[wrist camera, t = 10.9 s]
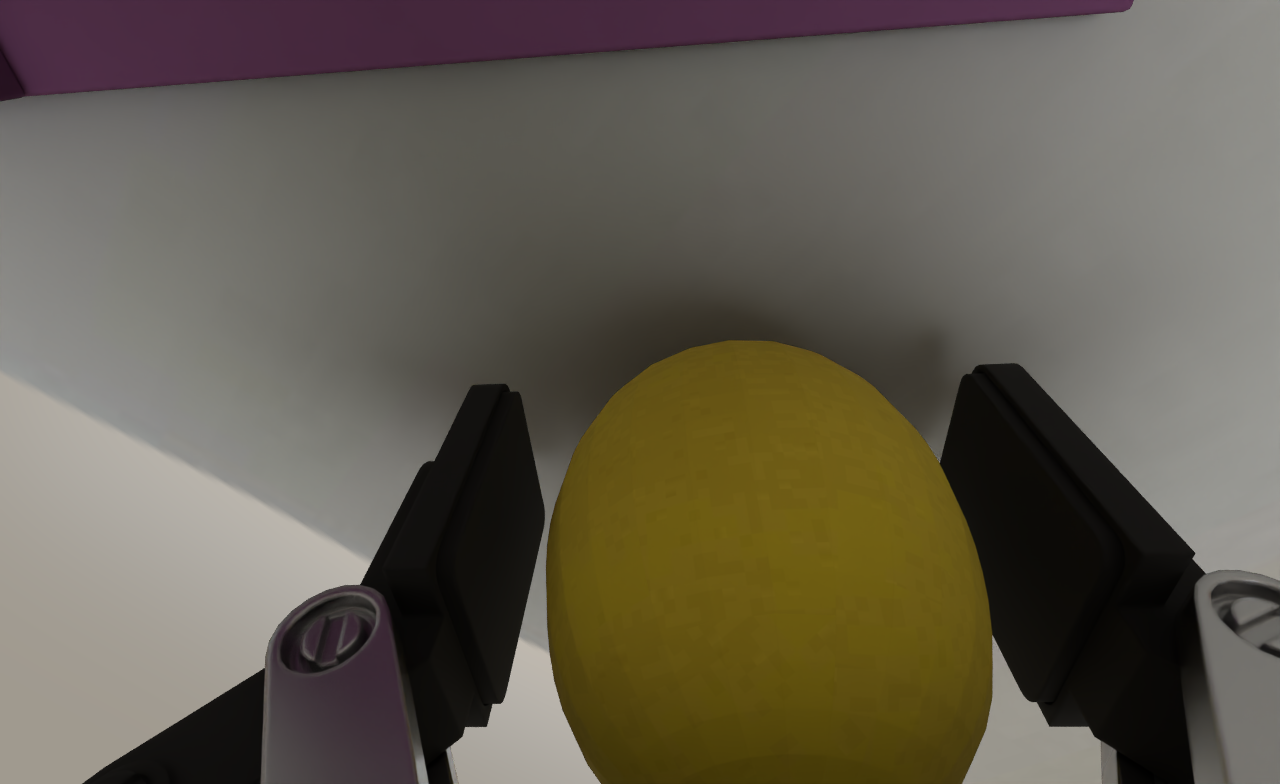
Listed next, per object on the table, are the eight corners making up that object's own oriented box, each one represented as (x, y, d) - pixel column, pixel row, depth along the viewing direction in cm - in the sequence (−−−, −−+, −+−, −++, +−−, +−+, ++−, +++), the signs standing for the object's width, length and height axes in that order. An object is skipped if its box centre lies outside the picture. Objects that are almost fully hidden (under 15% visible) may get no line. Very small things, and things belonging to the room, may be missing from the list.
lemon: (695, 537, 14) (721, 1036, 7) (523, 374, 12) (336, 880, 5) (925, 417, 12) (1247, 955, 5) (769, 191, 10) (990, 635, 3)
